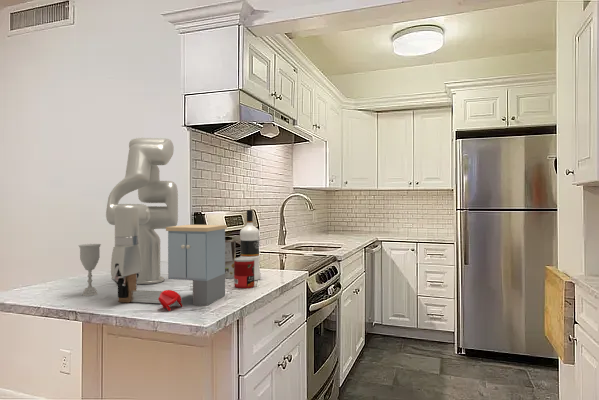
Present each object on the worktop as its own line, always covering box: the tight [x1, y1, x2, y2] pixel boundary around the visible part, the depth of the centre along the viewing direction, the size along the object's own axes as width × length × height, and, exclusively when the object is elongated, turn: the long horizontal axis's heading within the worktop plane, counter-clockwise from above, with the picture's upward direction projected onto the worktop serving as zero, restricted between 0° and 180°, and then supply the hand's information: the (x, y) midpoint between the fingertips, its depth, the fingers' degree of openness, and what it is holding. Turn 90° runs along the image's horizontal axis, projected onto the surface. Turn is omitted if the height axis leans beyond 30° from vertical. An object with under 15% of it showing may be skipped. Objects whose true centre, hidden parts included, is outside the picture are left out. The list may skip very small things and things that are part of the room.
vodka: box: [239, 209, 262, 282], centre depth 172 cm, size 9×9×30 cm
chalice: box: [78, 243, 102, 297], centre depth 145 cm, size 7×7×18 cm
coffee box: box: [225, 239, 237, 279], centre depth 178 cm, size 9×6×16 cm
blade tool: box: [117, 273, 164, 304], centre depth 133 cm, size 15×4×9 cm, turn 77°
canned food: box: [233, 257, 255, 290], centre depth 157 cm, size 8×8×11 cm
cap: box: [158, 289, 183, 312], centre depth 125 cm, size 8×6×6 cm
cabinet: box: [165, 224, 228, 306], centre depth 136 cm, size 15×16×25 cm
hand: (127, 295), depth 134 cm, fingers closed on blade tool, 4 cm apart
